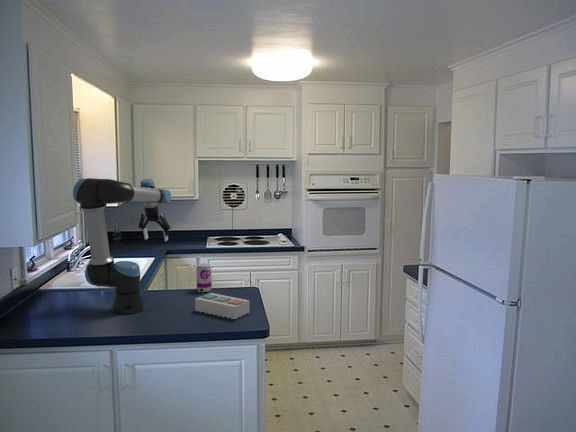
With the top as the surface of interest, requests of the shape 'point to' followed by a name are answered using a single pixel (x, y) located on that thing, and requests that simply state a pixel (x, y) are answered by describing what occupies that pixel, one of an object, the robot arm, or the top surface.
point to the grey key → (222, 299)
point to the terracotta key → (235, 302)
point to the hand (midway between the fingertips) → (156, 239)
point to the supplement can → (204, 278)
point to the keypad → (222, 307)
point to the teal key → (209, 296)
